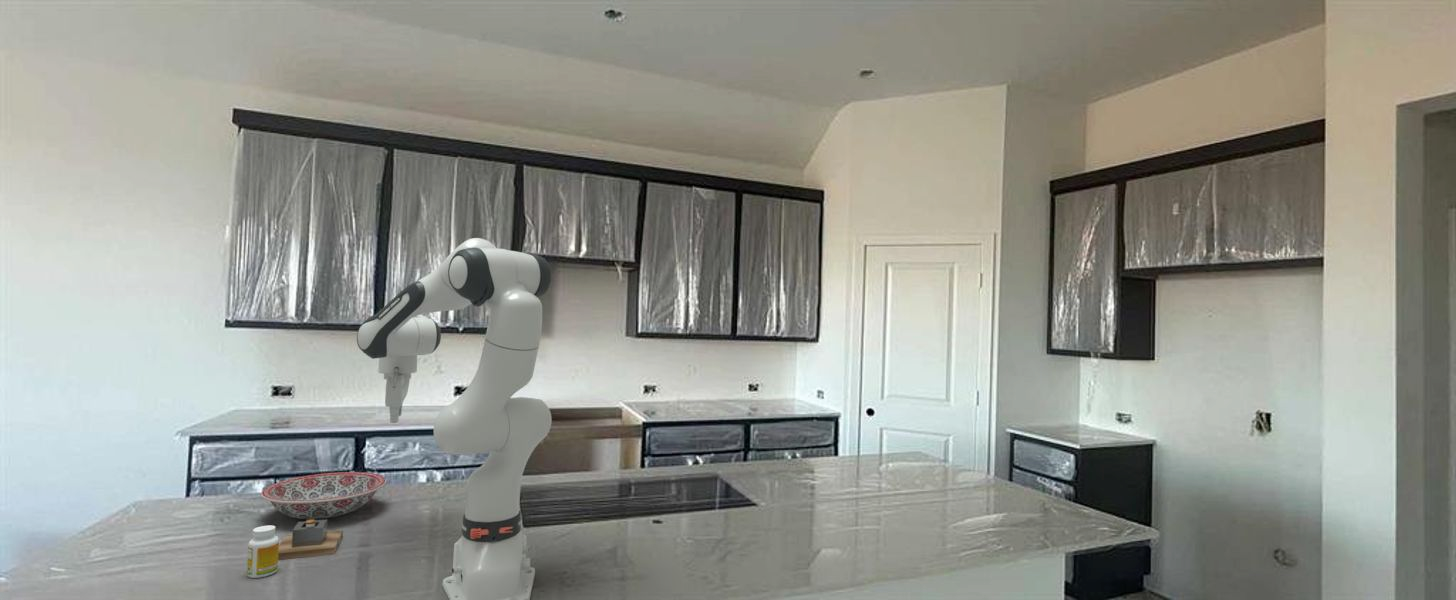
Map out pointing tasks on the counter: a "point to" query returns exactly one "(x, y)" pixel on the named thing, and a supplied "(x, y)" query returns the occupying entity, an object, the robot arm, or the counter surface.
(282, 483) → the ceramic bowl
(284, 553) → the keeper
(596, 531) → the counter surface
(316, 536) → the grey square block
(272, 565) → the supplement bottle
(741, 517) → the counter surface
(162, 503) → the counter surface
